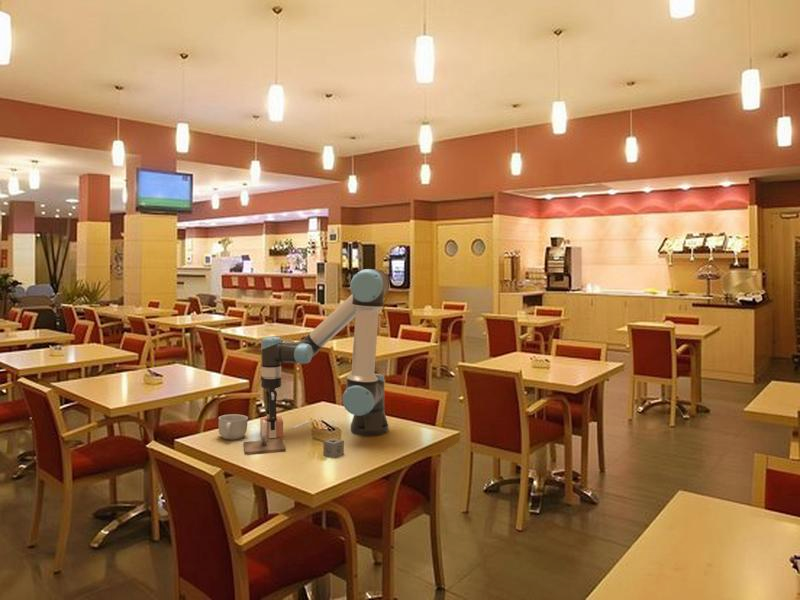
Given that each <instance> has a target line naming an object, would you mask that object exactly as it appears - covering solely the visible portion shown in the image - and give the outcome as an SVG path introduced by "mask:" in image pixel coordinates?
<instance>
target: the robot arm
mask: <svg viewBox="0 0 800 600" xmlns="http://www.w3.org/2000/svg"><path fill="white" fill-rule="evenodd" d="M390 286H391V285H390V280H389V277H388V275H387V274H386V273H385V272H384V271H382V270H380V269H376V268H372V269H371V268H365V269H362V270H359V271H358V272H357V273H355V274H354V275H353V277H352V279H351V281H350V285H349V288H350V293H351V294H350V295H349V297H347V298H346V299H345V300H344V301H343V302H342V303H341V304H340V305H339V306H338V307H337V308H335V309H334V310H333V312H331V313H330V314H329V315H328V316H327V317H326V318H324V319H323V320H322V321H321V322H320V323H319V324H318V325H317V326H316V327H315V328H314V329H313V330H312V331H311V332H310V333H308V334H307V335H306V336H305V337H304V338H302V340H300V341H297V342H294V343H293V342H292V343H291V342H282V337H279V336H265V337H263V338H262V340H261V348H260V351H261V352H260V355H261V357H260V358H261V359H260V361H261V368H259V372H261V378H260V380H261V381H260V383H261V386H260V387H261V388H263V389H266V390H265V400H266V409H265V411H266V417H269V420H267V422H269V438H268V439H277V437H276V421H277V417H278V416H277V397H278V393H277V390H276V389H279V388H281V387H282V377H281V376H282V363H286V364H287V363H291V364H294V363H295V364H300V365H301V364H309V363H311V361H312V358H313V357H315V356H316V355H318V353H319V351H320V350H321V349H322V348H323V347H324V346H325V345H326V344H327V343H328V342H329V341H331V340H332V339H333V338H334V337H335V336H336V335H338V333H339V332H341V330H343V329H344V328H345V327H346V326H347V325H349V324H350V323H351V321H353V320H354V318H355V320H354V331H353V332H354V333H353V334H354V335H353V347H352V360H351V361H352V363H351V372H350V374H348V375H347V377H346V388H345V390H344V392H343V394H342V399H341V400H342V405H343V407H344V409H345V410H346V412H348V413H349V414H351V415H352V416H353V417H352V420H351V423H350V432H351V433H352V434H353V435H357V436H365V437H366V436H368V437H369V436H375V437H376V436H380V435H384V434H387V433H388V432H389V428H390V427H389V422H388V419H387V417H386V413H385V383H386V381H385V376H384V375H383V374H382V373H375V369H376V355H377V344H378V343H377V342H378V331H379V330H378V329H379V328H378V327H379V312H380V310H381V309H383V308H384V301H385V296H386V295H387V293H388V291H389V289H390ZM272 417H274V418H272Z"/></svg>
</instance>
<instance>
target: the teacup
mask: <svg viewBox="0 0 800 600" xmlns="http://www.w3.org/2000/svg"><path fill="white" fill-rule="evenodd" d="M248 421H249V416H247V415H243V414H235V413H234V414H233V413H232V414H231V413H230V414H224V415H220V416H218V433H219V435H220V436H221V437H222V438H223V439H225V440H231V441H232V440H238V439H241V438H243V436H245V435H246V433H247V430H248Z"/></svg>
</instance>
